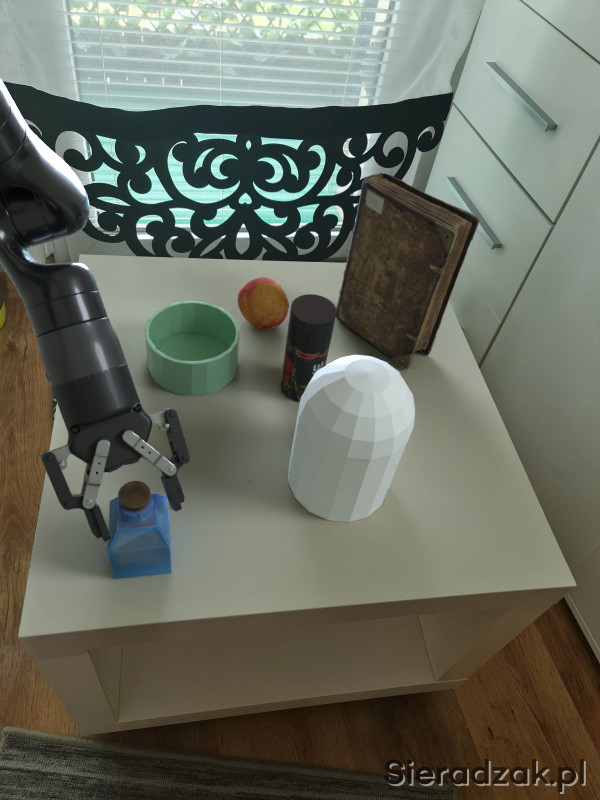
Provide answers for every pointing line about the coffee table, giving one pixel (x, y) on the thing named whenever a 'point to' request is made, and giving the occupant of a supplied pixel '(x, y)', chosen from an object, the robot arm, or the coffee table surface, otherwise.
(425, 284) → the book
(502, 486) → the coffee table surface
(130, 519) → the perfume bottle
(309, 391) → the white dome-topped cylinder
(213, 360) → the green bowl
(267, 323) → the fruit
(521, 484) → the coffee table surface
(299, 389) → the deodorant
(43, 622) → the coffee table surface
